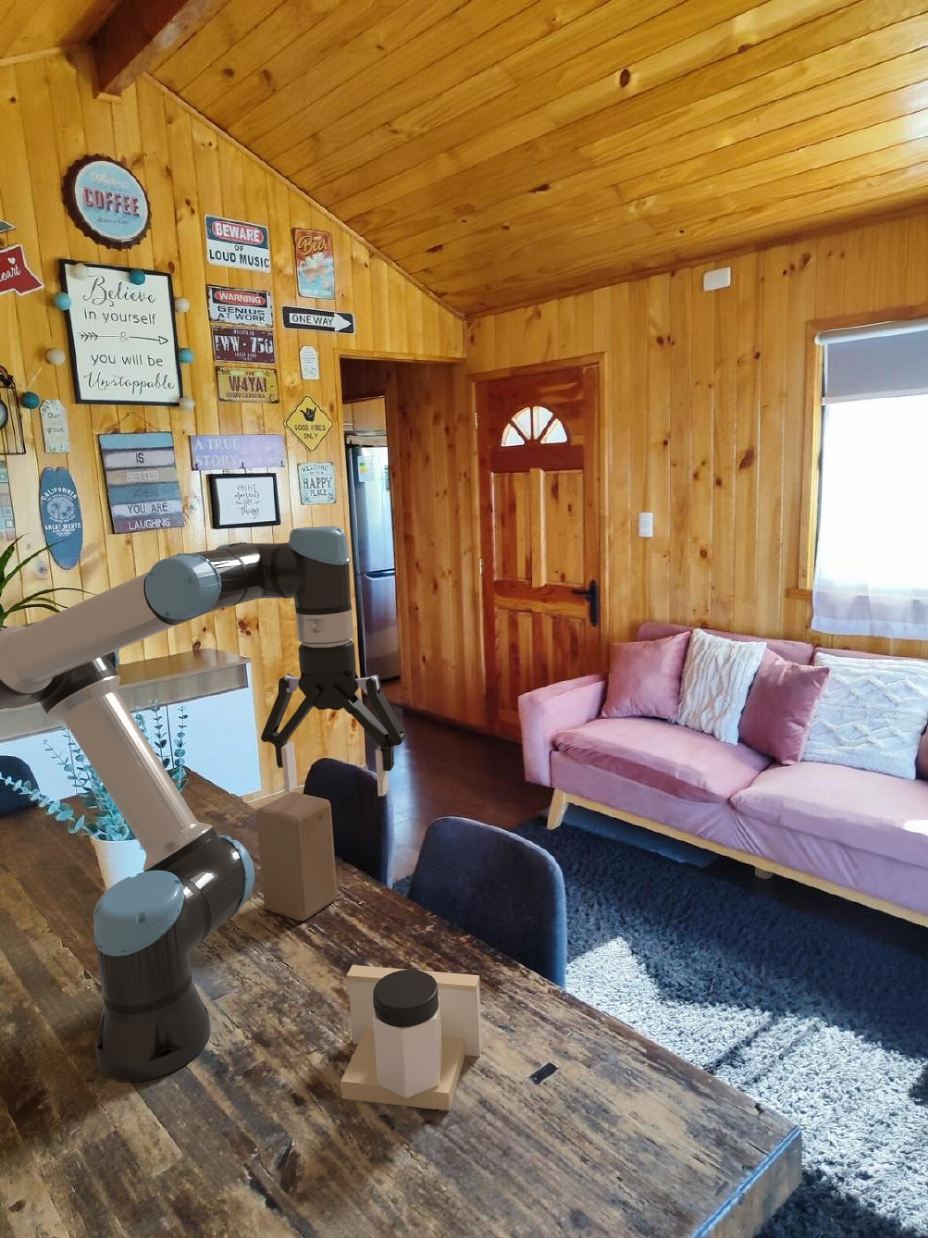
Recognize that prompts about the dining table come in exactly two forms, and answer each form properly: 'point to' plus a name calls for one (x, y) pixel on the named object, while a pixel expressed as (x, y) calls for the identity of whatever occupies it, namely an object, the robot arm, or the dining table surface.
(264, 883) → the wooden block
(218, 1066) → the dining table surface
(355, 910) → the dining table surface
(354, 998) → the cleat board
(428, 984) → the jar
